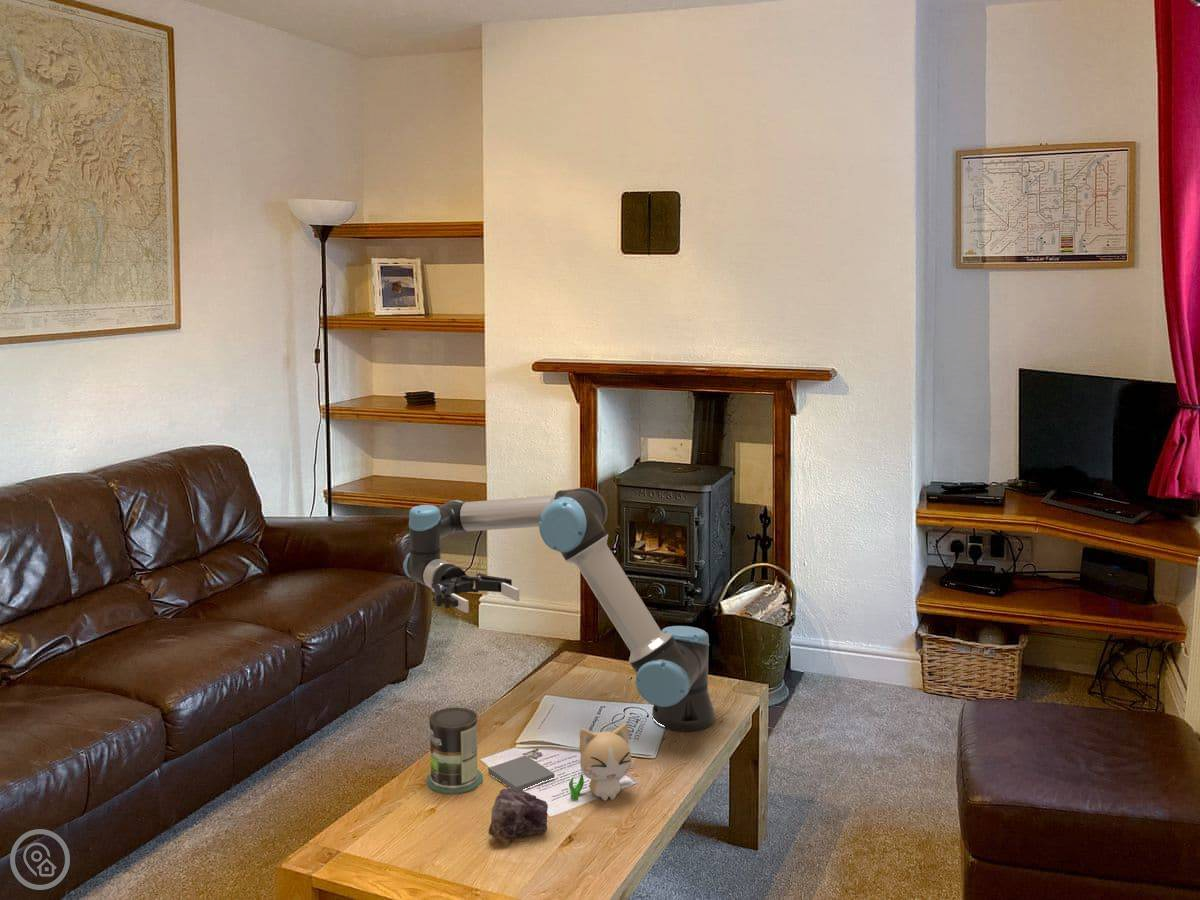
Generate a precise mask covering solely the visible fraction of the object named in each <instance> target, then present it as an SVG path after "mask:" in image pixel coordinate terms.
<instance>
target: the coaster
mask: <svg viewBox="0 0 1200 900" xmlns="http://www.w3.org/2000/svg"><path fill="white" fill-rule="evenodd" d="M477 774H478V778H477V780H476V781H475V782H474V783H473V784H471V785H469V786H466V787H463V788H457V789H447V788H441V787H438V786H436V785H434V784H433V783H432V781H431V772H430V773H429V774H428V775H427V778H426V784H427V787H429V789H430V790H432V791H433V792H436V793H439V794H446V795H459V794H460V795H461V794H465V792H466V793H469V792H471V790H472V791H474V790H475V788H476V789H477V788H479V787H480V786H481V785H482V784H483V780H484V779H483V778H484V776H483V773H482V772H481V771H480V770H479V769H478V768H477ZM480 784H481V785H480ZM479 785H480V786H479ZM478 786H479V787H478ZM468 791H469V792H468Z"/></svg>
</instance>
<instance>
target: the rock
mask: <svg viewBox="0 0 1200 900" xmlns="http://www.w3.org/2000/svg"><path fill="white" fill-rule="evenodd" d="M548 808H549V805H548V803H547V801H546V800H542V799H540V798H537V796H536V795H534V794H531V793H529V792H526V791H525V790H524V791H522V790H518V789H510V788H508V789H507V788H502V789H500V791H499V793H498V795H497V796H496V797H495V801H494V804H493V806H492V808H491V822H490V825H489V827H488V835H489V836H492V837H493V838H495V839H497V840H498V841H500V842H502V843H503V845H505V844H507V845H508V844H511V843H512V842H513V841H515V839H516V838H526V837H528V836H529V835H536V834H539V833H546V832H547V830H548V824H547V823H548Z"/></svg>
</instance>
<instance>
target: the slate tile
mask: <svg viewBox="0 0 1200 900" xmlns="http://www.w3.org/2000/svg"><path fill="white" fill-rule="evenodd" d="M487 769H488V770H487V771H488V773H489V774H490V775H489V774H488V775H489V776H491V775H492V776H494V777H495V778H497V779H498V780H500V781H501V782H502V783H501V782H500V781H499V782H500V783H501V784H503V783H504V784H506V785H507V786H508V787H510V788H511V789H518V790H523V789H525V788H528V787H530V786H533V785H535V784H538V783H540V782H542V781H546V780H549V779H551V778H554V777H555V773H554V772H553V771H552V770H550V769H549V768H547V767H545V766H544V765H542V764H540V763H538V762H537V761H535V760H534V759H532V758H530V757H529V756H528V755H526V754H525V755H523V756H520V757H519V756H518V757H517V758H515V759H514V758H513V759H511V760H508V761H504V762H502V763H498V764H496V765H492V766H490V767H488V768H487ZM492 776H491V777H492ZM494 777H493V778H494ZM495 778H494V779H495ZM555 778H556V777H555ZM497 779H496V780H497ZM498 780H497V781H498ZM504 784H503V785H504ZM507 786H506V787H507ZM508 787H507V788H508ZM510 788H509V789H510Z"/></svg>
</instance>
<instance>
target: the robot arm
mask: <svg viewBox="0 0 1200 900" xmlns="http://www.w3.org/2000/svg"><path fill="white" fill-rule="evenodd" d="M606 503H607V502H606V501H605V499H604V498H603V496H602V495H601V494H600V493H599V492H598V491H596V490H594V489H592V488H588V487H577V488H572V489H563V490H557V491H556V492H555V493H554V494H553V495H551V494H550V495H542V496H541V495H539V496H527V497H513V498H503V499H491V500H477V501H465V502H464V501H462V500H459V499H456V500H451V501H447V502H445V503H443V504H442V505H440V506H436V505H432V504H420V505H416V506H413V507H411V509H409V517H408V528H409V529H408V530H409V531H408V532H409V552H408V554H406V556H405V558H404V561H403V564H402V567H403V571H404V574H406V576H407V577H408V578H410V579H411V580H412V581H414V582H415V583H418V584H419V583H420V584H421V585H424V586H426V587H427V588H429V589H431V595H433V596H434V599H435V605H436V606H437V607H442V604H443V605H444V609H451V607H452V608H455V609H457V610H459V611H461V612H463V613H466V614H467V613H470V609H469V608H470V607H469V606H470V605H469V604H470V603H469V602H470V601H469V600H468V599H466V598H465V597H461V596H459V595H460V594H463V593H464V594H467V593H475V594H476V593H478V592H489V593H490V592H492V593H494V592H495V593H501V595H503V596H505V597H507V598H510V599H511V600H514V601H516V602H519V601H520V589H519V588H517V587H515V586H513V585H512V584H513V583H512V582H513V581H512V579H511V578H505V577H504V578H503V577H498V576H491V575H486V574H483V573H477V574H476V576H470V575H467V574H466V572H465V571H464V570H463V569H462V568H461V567H460V566H457V565H455V564H453V563H450V562H448V561H446V560H444V559H442V558H441V553H442V551H441V549H442V548H441V547H442V545H441V542H442V541H441V539H443V538H446V537H447V536H450V535H452V534H455V533H464V532H465V533H466V532H476V531H477V532H479V531H492V530H506V529H507V530H510V529H525V528H526V529H527V528H538V529H539V534H540V537H541V539H542V540H543V541H542V542H543V543H544V544H545V545H546V546H547V547H548V548H550V550H554V551H556V552H559V553H560V554H561V555H562V557H563V559H564V560H565V562H566V563H569V564H573V565H575V566H576V567H577V568H578V570H579V572H580V573H581V575H582V577H583V578H584V579H585V581H586V583H587V584H588V586H589V588H590V589H591V591H592V593H593V595H594V596H595V597H596V599H597V601H598V602H599V604H600V605H601V607H602V608H603V610H604V612H605V614H607V617H608V618H609V620H610V622H611V623H612V624H613V626H614V628H615V629H616V631H617V632H618V634H619V635H620V637H621V639H622V640H623V642H624V644H625V645H626V647H627V649H628V650H629V651H630V656H629V659H628V662H629V664H630V665H631V667H632V669H633V670H634V671H635V674H636V675H635V686H636V690H637V692H638V694H639V696H641V697H642V699H644V700H645V701H646V702H648V704H651V705H653V706H652V711H651V713H652V715H653V718H654V719H655V720H656V721H657V722H658V723H660V724H662V725H664V726H665V728H664V729H666V730H670V731H676V732H696V731H701V730H704V729H706V728H708V727H710V726H712V725H713V723H714V722H715V710H714V707H713V704H712V700H711V696H710V693H709V689H708V686H709V683H708V681H709V653H710V652H709V649H710V648H709V647H710V643H709V642H710V639H709V633H708V632H706V631H705V630H704V629H701V628H699V627H694V626H689V625H672V626H666V627H664V628H662V629H661V628H660V626H659V625H658V623H657V622H656V620H655V618H654V617H653V615H652V614H651V612H650V611H649V609H648V607H647V606H646V605H645V603H644V601H643V599H642V598H641V596H640V594H638V592H637V591H636V589H635V587H634V586H633V584H632V582H631V581H630V579H629V578H628V575H626V573H625V571H624V570H623V568H622V566H621V564H620V563H619V561H618V560H617V558H616V557H615V555H614V553H613V552H612V550H611V549H610V548H609V546H608V538H609V534H608V532H607V531H606V529H605V527H604V525H605V523H606V522H607V519H608V518H607V517H608V505H607V504H606ZM474 587H475V588H474ZM652 715H651V716H652ZM653 718H652V719H653Z"/></svg>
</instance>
